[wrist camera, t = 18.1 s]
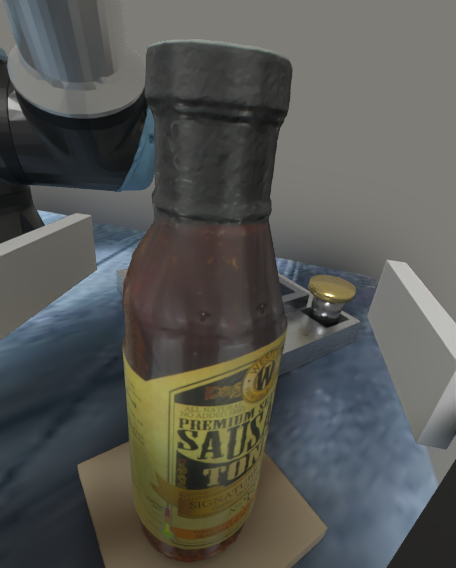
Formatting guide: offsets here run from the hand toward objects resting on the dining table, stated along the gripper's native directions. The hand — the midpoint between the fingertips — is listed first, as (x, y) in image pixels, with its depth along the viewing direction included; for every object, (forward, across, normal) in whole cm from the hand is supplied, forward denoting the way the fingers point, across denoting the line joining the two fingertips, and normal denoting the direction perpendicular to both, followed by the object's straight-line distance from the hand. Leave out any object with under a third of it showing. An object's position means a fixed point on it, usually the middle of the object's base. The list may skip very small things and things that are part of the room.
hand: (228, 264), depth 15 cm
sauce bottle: (-3, 0, -13) cm, 13 cm away
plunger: (+17, +8, -12) cm, 22 cm away
